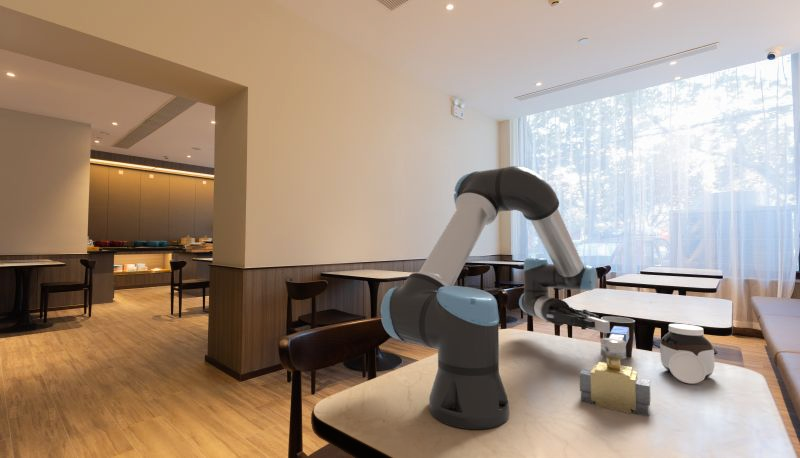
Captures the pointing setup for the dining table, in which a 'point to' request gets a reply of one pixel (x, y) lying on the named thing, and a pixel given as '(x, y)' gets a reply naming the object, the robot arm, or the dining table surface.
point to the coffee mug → (622, 323)
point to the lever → (615, 343)
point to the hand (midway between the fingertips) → (606, 327)
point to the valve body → (615, 387)
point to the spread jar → (687, 353)
